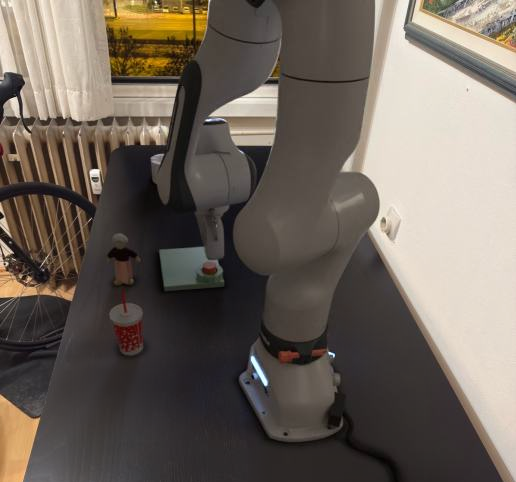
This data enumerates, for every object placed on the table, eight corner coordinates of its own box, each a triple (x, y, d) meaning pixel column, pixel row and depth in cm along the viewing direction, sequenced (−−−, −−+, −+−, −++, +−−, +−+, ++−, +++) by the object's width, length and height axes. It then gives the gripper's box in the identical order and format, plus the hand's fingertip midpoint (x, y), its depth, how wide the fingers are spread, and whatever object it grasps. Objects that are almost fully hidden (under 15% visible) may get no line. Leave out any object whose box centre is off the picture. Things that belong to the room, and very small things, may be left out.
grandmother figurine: (109, 288, 110) (101, 239, 102) (109, 278, 113) (100, 230, 104) (143, 284, 112) (138, 236, 103) (142, 275, 115) (136, 228, 106)
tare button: (217, 274, 112) (217, 268, 111) (203, 275, 112) (203, 269, 111) (215, 267, 115) (215, 260, 114) (201, 267, 114) (201, 261, 113)
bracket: (153, 186, 150) (151, 165, 146) (151, 174, 156) (150, 154, 152) (216, 184, 154) (216, 163, 150) (212, 172, 160) (212, 152, 156)
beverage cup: (131, 333, 99) (122, 277, 90) (153, 345, 97) (146, 290, 88) (109, 349, 96) (97, 292, 86) (131, 362, 93) (121, 306, 84)
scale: (224, 286, 114) (224, 276, 111) (164, 291, 111) (163, 280, 109) (213, 250, 125) (213, 240, 123) (159, 254, 122) (158, 244, 120)
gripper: (232, 222, 94) (230, 279, 104) (216, 177, 109) (215, 231, 118) (200, 223, 93) (201, 281, 102) (188, 178, 107) (190, 233, 117)
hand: (208, 254), depth 110 cm, fingers closed
